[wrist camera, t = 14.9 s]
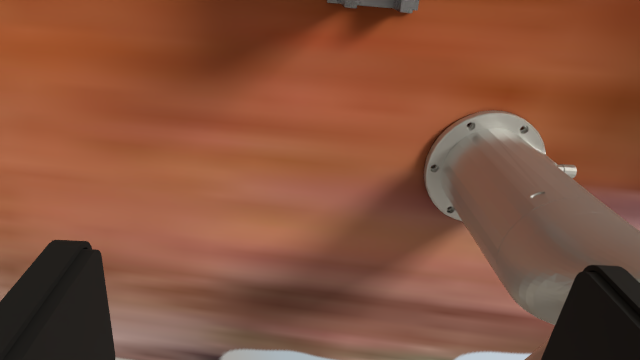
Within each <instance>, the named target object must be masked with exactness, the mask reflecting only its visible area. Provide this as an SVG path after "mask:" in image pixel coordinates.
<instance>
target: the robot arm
mask: <svg viewBox="0 0 640 360" xmlns="http://www.w3.org/2000/svg"><path fill="white" fill-rule="evenodd" d="M468 123H470V124H469V125H467V124H468ZM521 127H522V128H521ZM520 128H521V129H520ZM432 165H434V166H433V167H431V166H432ZM576 172H577V170H576V167H575V166H574V165H565V164H560V165H557V163H555V162H554V161H553V160H551V159H550V158H549V157H548V156H546V150H545V147H544V143H543V140H542V138H541V136H540V134H539V133H538V131H537V130H536V129H535V128H534V127H533V126H532V125H531V124H530V123H528V122H527V121H526V120H524V119H523V118H521V117H519V116H517V115H515V114H512V113H509V112H505V111H495V110H491V111H482V112H478V113H474V114H471V115H468V116H466V117H464V118H462V119H460V120H458V121H456V122H455V123H454V124H452V125H451V126H449V127H448V128H447V129H446V130H445V131H444V132H443V133H442V134H441V135H440V136H439V137H438V138H437V140H436V141H435V142H434V144H433V145H432V147H431V149H430V151H429V153H428V155H427V158H426V162H425V166H424V182H425V187H426V190H427V192H428V195H429V197H430V198H431V200H432V201H433V203H434V204H435V206H436V207H437V208H438V209H439V210H440V211H441V212H443V213H444V214H445V215H447V216H449V217H451V218H453V219H456V220H459V221H463V223H464V224H465V226H466V228H467V229H468V231H469V232H470V234H471V235H472V237H473V238H474V240H475V242H476V243H477V245H478V246H479V248H480V249H481V251H482V253H483V254H484V256H485V257H486V259H487V260H488V262H489V264H490V265H491V267H492V268H493V270H494V271H495V273H496V275H497V276H498V278H499V279H500V281H501V282H502V284H503V285H504V287H505V288H506V290H507V291H508V293H509V294H510V295H511V297H512V298H513V299H514V300H515V302H517V303H518V304H519V305H520V306H521V307H522V308H523V309H524V310H526V311H527V312H529V313H530V314H532V315H534V316H535V317H537V318H539V319H541V320H544V321H546V322H548V323H551V324H554V325H555V327H554V329H553V332H552V334H551V336H550V338H549V339H548V340H547V342H546V343H544V344H543V345H542V346H541V347H539V348H538V349H537V350H536V351H535V352H533V353H532V354H531V355H530V356H529V357H527V358H526V359H525V360H640V231H639V230H637V229H636V228H635V227H633V226H632V225H630V224H629V223H628V222H627V221H625V220H624V219H623V218H621V217H620V216H619V215H618V214H616V213H615V212H614V211H613V210H611V209H610V208H609V207H607V206H606V205H605V204H603V203H602V202H601V201H600V200H598V199H597V198H596V197H595V196H593V195H592V194H591V193H590V192H588V191H587V190H586V189H585V188H583V187H582V186H581V185H580V184H578V183H577V182H576V181H575V180H573V179H572V178H574V177H575V175H576ZM0 360H115V350H114V342H113V335H112V328H111V321H110V314H109V306H108V299H107V292H106V285H105V278H104V271H103V263H102V257H101V253H100V251H99V250H92V247H91V245H90V243H89V242H87V241H69V240H54V241H52V242H51V243H49V244H48V246H47V247H46V248H45V249H44V250H43V252H42V253H41V254H40V255H39V256H38V258H37V259H36V260H35V261H34V262H33V263H32V265H31V266H30V267H29V268H28V269H27V271H26V272H25V273H24V274H23V275H22V277H21V278H20V279H19V280H18V281H17V283H16V284H15V285H14V286H13V287H12V288H11V290H10V291H9V292H8V293H7V294H6V296H5V297H4V298H3V299H2V300H1V302H0Z"/></svg>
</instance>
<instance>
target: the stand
mask: <svg viewBox="0 0 640 360" xmlns="http://www.w3.org/2000/svg"><path fill="white" fill-rule="evenodd" d="M327 3H339V4H342V5H343V6H344V7H347V8H357V5H361V6H373V7H384V8H393V9H395V10H397V11H399V12H405V13H412V11H413V10H418V4H419V0H327Z"/></svg>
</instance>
